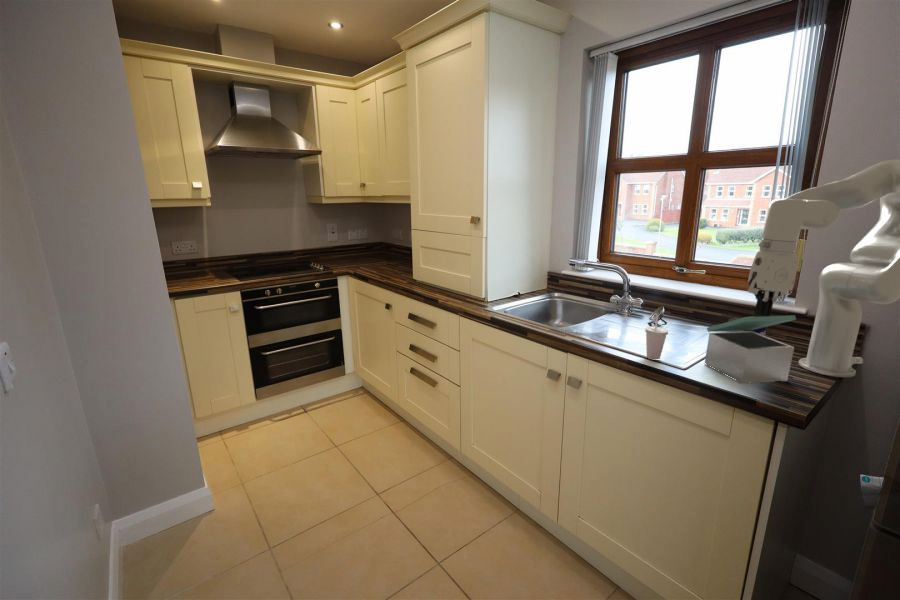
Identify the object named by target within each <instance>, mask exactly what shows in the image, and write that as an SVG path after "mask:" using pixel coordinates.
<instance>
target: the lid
mask: <svg viewBox="0 0 900 600" xmlns="http://www.w3.org/2000/svg"><path fill="white" fill-rule="evenodd" d="M796 320H797V318H796V315H793V314H792V315H791V314H790V315H789V314H788V315H770V316H761V315H760V316H745V317H744V316H743V317H740V318H739V317H734V318H728V321H726V322H723V323H718V324H715V325H711V326H708V327H706V330H707V332H709V333H715V332H740V331H744V330H755V329H759V328H763V327H767V328H768V327H771V326H775V325H778V324H783V323H787V322H791V321H796Z"/></svg>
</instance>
